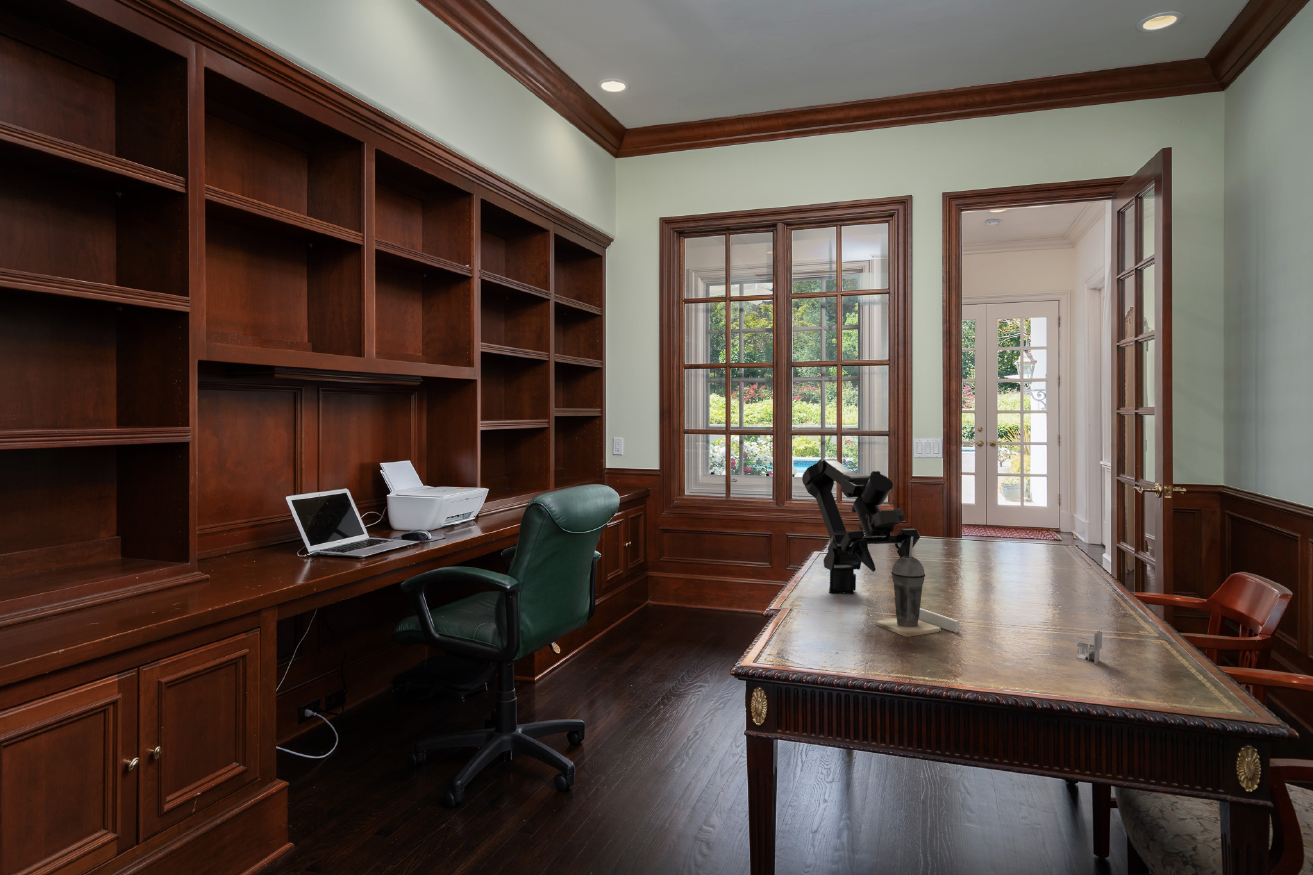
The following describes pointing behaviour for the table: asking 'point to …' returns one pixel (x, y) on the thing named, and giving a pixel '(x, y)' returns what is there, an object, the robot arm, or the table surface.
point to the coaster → (907, 631)
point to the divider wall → (939, 620)
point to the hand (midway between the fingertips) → (892, 569)
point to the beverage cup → (908, 589)
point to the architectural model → (1090, 648)
